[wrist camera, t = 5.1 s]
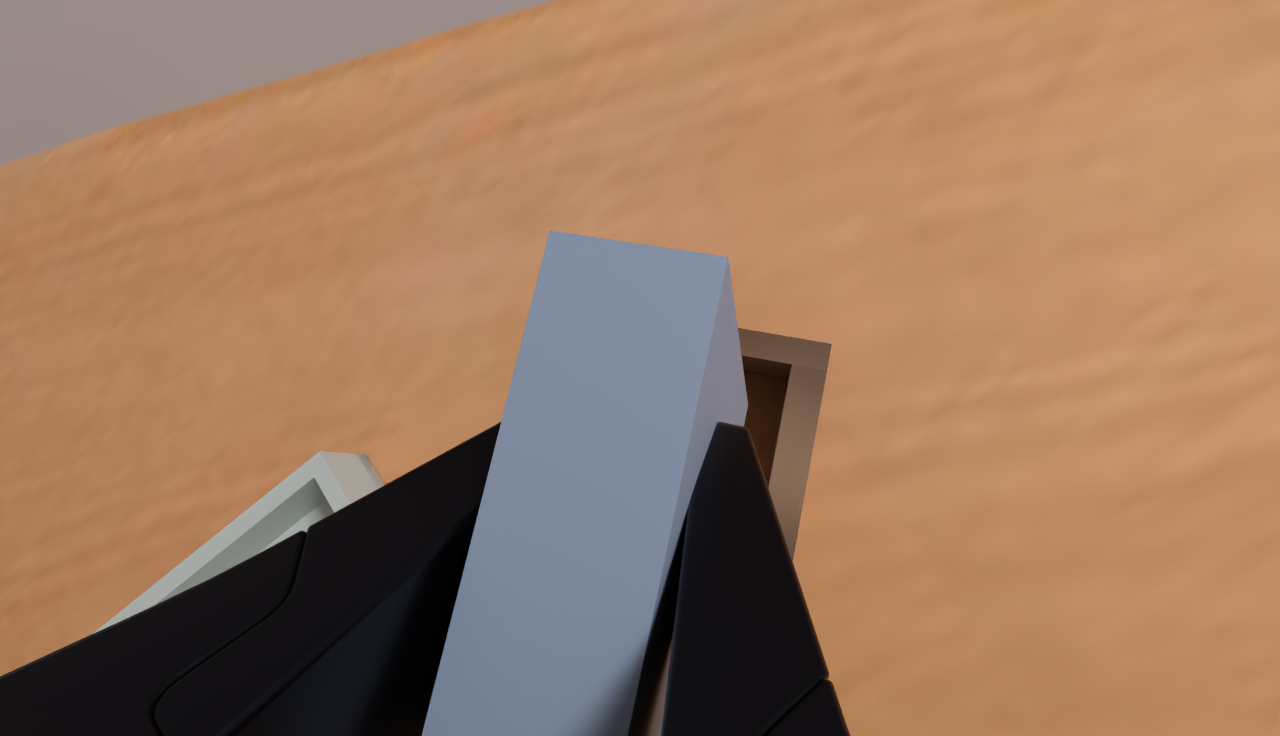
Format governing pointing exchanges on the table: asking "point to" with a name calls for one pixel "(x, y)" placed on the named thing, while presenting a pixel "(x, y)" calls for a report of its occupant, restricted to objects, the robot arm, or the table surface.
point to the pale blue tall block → (591, 495)
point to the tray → (268, 523)
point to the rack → (790, 414)
